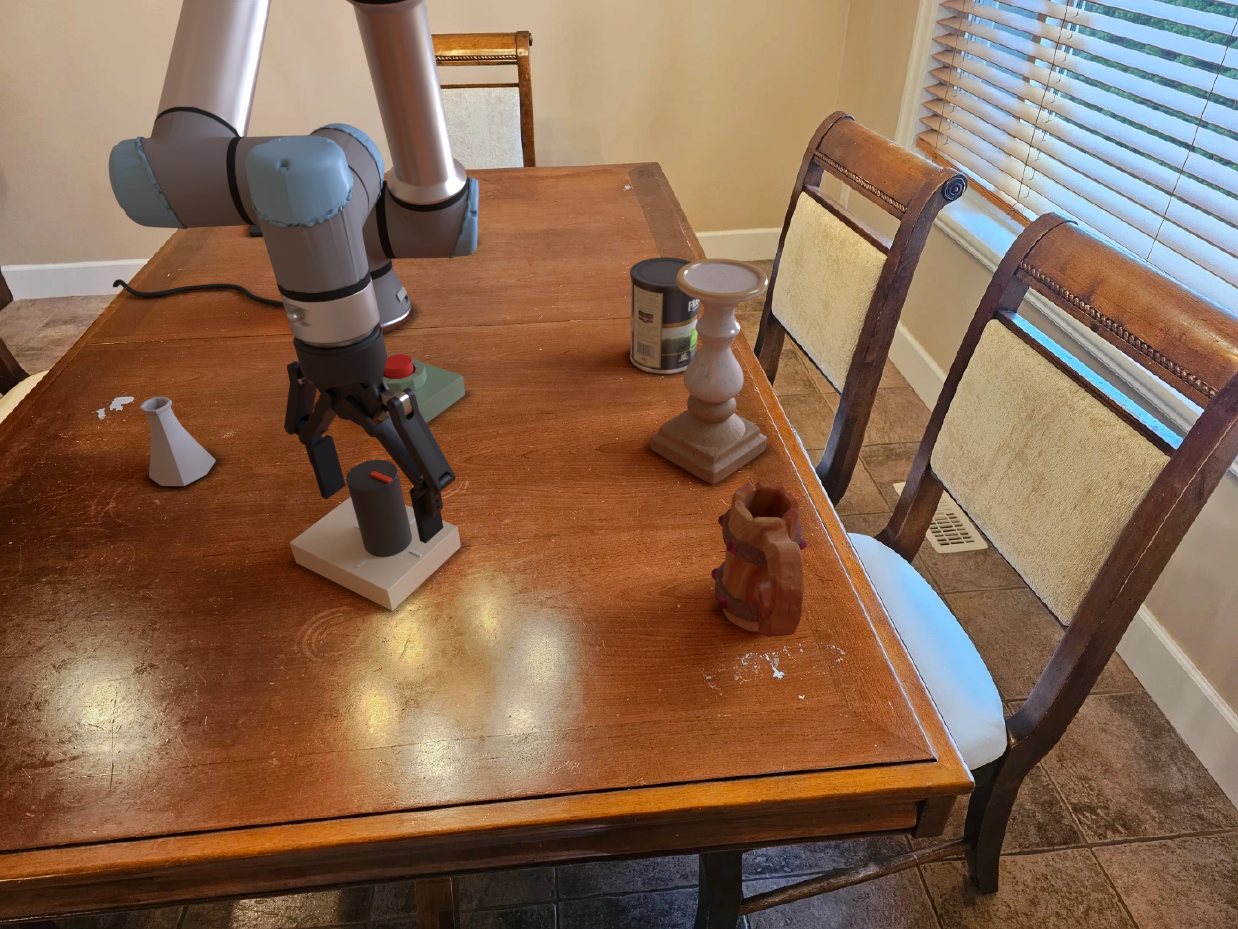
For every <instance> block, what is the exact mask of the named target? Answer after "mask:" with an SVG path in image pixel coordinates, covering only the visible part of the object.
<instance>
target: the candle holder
mask: <svg viewBox="0 0 1238 929" xmlns="http://www.w3.org/2000/svg"><path fill="white" fill-rule="evenodd" d="M690 262H691V263H689V264H687V265H685V266H683V267H682V268H681V269H680V270H679V271H678V273H677V276H676V282H677V285H678V287H679V288H680V290H681V291H682V292H684V293H685V294H687V295H688V296H690V297H692V298H695V299H698V300H700V303H701V304H702V307H703V314H702V316H701V317H700V318H699V319H698V322H697V323H696V331H697V333H698V334H697V335H699V338H700V340H701V342H702V345H701V346H700V348H699V350H698V352H696V356H695V357H694V358H693V359H692V360H691V361H690V363H689V364H688V366H687V368H686V370H685V371H684V374H683V383H684V387H685V389H686V390H687V392H688V393H689V394H690V395H689V396H688V398H687V402H686V407H687V409H686V410H684V411H682V412H680V413H679V414H678V415H676V416H674V417H672V418H671V419H669V420H668V421H666V422H665V423H663V424H662V425H661V426H660V428H658V431H657V432H656V433H654V434H653V435H651V436H650V446H649V447H650V450H652V451H653V452H654V453H657V454H658V455H659V456H661V457H662V458H664V459H666V460H668V461H670V462H671V463H673V464H675V465H676V466H678V467H679V468H681V469H683V470H685V471H686V472H688V473H690V474H692V475H694V476H695V477H697V478H699V479H701V480H703V482H706V483H708V484H710V485H716V484H717V483H720V482H721V481H722V480H724V479H726V478H727V477H728V476H730V475H732V474H733V473H734V472H736V471H738V469H740V468H742V467H743V466H745V465H747V463H749V462H750V461H752V460H753V459H755V458H756V457H758V456H759V455H760V454H762V453H763V452H764V451H766V449H767V443H768V437H767V436H766V435H764V434H762V433H761V428H760V427H759V426H758V425H756V424H755V423H754V422H751V421H750V420H748V419H746V418H744V417H742V416H740V415H738V414H737V413H735V412H736V409H737V401H736V398H735V397H737V395H738V394H739V393H740V392H741V391H742V389H743V386H744V381H745V378H744V375H745V374H744V372H743V369H742V366H741V365H740V363H739V361H738V360H737V358H736V357H735V355H734V352H733V350H732V347H731V345H732V343H733V341H734V340H735V339H736V337H737V336H738V335H739V334H740V332H741V325H740V324H739V322H738V321H737V319H736V316H735V311H736V308H737V307H738V305H739V304H741V303H745V302H748V301H751V300H754V299H757V298H758V297H760V296H761V295H762V294H764V292H765V291H766V290H767V288H768V283H769V280H768V276H767V274H766V273H765V271H763V269H761V268H760V267H758V266H756V265H754V264H752V263H749V262H747V261H743V260H738V259H733V258H732V259H731V258H720V257H719V258H704V259H698V260H694V261H690Z"/></svg>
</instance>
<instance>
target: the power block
mask: <svg viewBox="0 0 1238 929" xmlns="http://www.w3.org/2000/svg"><path fill="white" fill-rule="evenodd" d="M397 354H398V353H395V352H392V353H390V354H389V355H387V357H389V356H392V355H397ZM411 359H412V363H413V369H414V372H413V374H411V375H410V376H408V377H405V378H401V379H389V378H386V377H385V375H384V373H383V377H384V380H385V382H386V384H387V386H388V387H389V389H390V390H392V391H396V392H401V391H403V390H404V389H406V388H410V389H411V390H413V392H414V393H415V396H416V400H417V403H418V407H419V411H420V413H421V414H422V416H423V418H424V420H425V422H426V423H427V424H428V423H429V422H430V421H432V420H433V419H434V418H435V417H437V416H439V415H440V414H442V412H444V411H445V410H447V409H448V408H449V407H451V406H452V405H454V404H455V403H456V402H457V401H459V400H460V399H462V398H463V397H464V396H466V390H465V383H464V382H465V381H464V375H462V374H459V373H455V372H453V371H450V370H447V369H444V368H440V367H438V366H436V365H433V364H432V365H431V364H429V363H427V362H423V361H421V360H419V359H416V358H413V357H411ZM386 418H387V415H386V413H385V412H384V411H383V412H382V414H381V415H380V416H379V417H378V418H377V419H376V420H377V421H380V422H382V421H383V420H385V419H386Z"/></svg>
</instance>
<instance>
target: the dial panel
mask: <svg viewBox="0 0 1238 929" xmlns="http://www.w3.org/2000/svg"><path fill="white" fill-rule="evenodd" d="M405 506H406V511H407V515H408V520H409V525H410V529H411V534H412V540H411V543H410V544H409V546H408V547H407V548H406V549H405V550H403V551H402V552H400V553H398V554H395V555H392V556H387V557H379V556H374V555H372V554H370V553H368V552H367V551H366V549H365V547H364V544H363V540H362V536H361V533H360V529H359V525H358V522H357V518H356V514H355V511H354V507H353V503H352V499H351V496H349V497H347V499H344V501H342V502H341V503H340V504H338V505H337V506H336V507H334V508H333V509H332V510H331V511H330V512H327V513H326V514H325V515H324V516H323V517H322V518H320V519H319V520H318V521H316V522H315V523H314V524H312V525H310V527H307V529H305V530H304V531H303V532H301V534H299V535H297V536H296V537H295V538H294V539H292V540H291V541H290V542H289V546H290V549H291V551H292V555H293V557H294V560H295V563H296V564H297V565H300V566H302V567H304V568H305V569H308V570H310V571H312V572H314V573H315V574H318V575H320V576H322V577H324V578H326V579H327V580H330V581H332V582H334V583H335V584H338V585H340V586H342V587H344V588H346V589H348V590H350V591H352V592H354V593H356V594H358V595H359V596H362V597H364V598H366V599H368V600H370V601H372V602H373V603H375V604H378V605H380V606H381V607H384V608H386V609H387V610H389V611H392V612H393V611H394V610H395V609H397V608H398V607H399V606H400V605H401V604H402V603H403V602H404V601H405V600H406V599H407V598H408V597H409V596H411V594H413V592H414V591H416V590H417V589H418V588H419V587H420V586H421V585H422V584H423V583H424V582H425V581H427V579H429V577H431V575H433V574H434V573H435V572H436V571H437V570H438V569H439V568H440V567H441V566H442V565H443V564H444V563H445V562H446V561H447V560H449V559H450V558H451V557H452V556H453V555H454V554H455V553H456V552H457V551H458V550H459V549H461V547H462V545H461V539H460V533H459V527H458V526H456V525H454V524H452V523H449V522H447V521H444V520H442V522H443V529H442V530H440V531H439V532H438V533H437V534H436V535H435V536H434V537H433V538H432V539H430V540H429V541H428V542H427V543H426V544H425V543H423V542H421V541H420V539H419V534H418V529H417V525H416V520H415V515H414V511H413V506H409V505H407V504H405Z"/></svg>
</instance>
